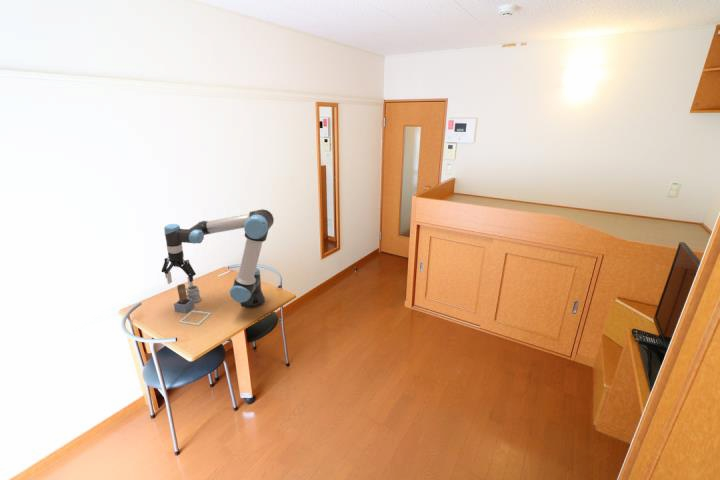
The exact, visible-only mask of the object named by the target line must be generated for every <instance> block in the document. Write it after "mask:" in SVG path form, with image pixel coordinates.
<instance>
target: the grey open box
mask: <svg viewBox="0 0 720 480" xmlns="http://www.w3.org/2000/svg"><path fill="white" fill-rule="evenodd" d="M187 301H188V303H186V304H185V305H184V304H180V300H179V299H178V300H176V301H175V302H174V303H173V308H174V312H175V313H180V314H181V313H182V314H189V313H190V312H191V311H192V309H194V308H195V303H194V300H193V299H188V298H187Z"/></svg>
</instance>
